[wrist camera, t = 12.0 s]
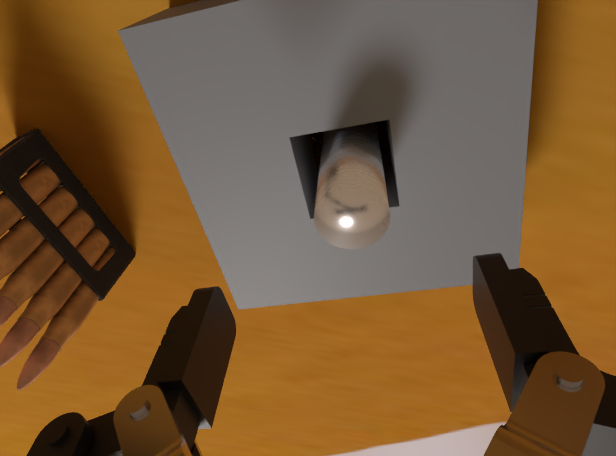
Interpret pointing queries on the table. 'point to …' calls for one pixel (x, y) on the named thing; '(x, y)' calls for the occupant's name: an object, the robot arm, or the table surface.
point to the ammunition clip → (50, 251)
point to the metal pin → (351, 188)
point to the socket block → (339, 114)
